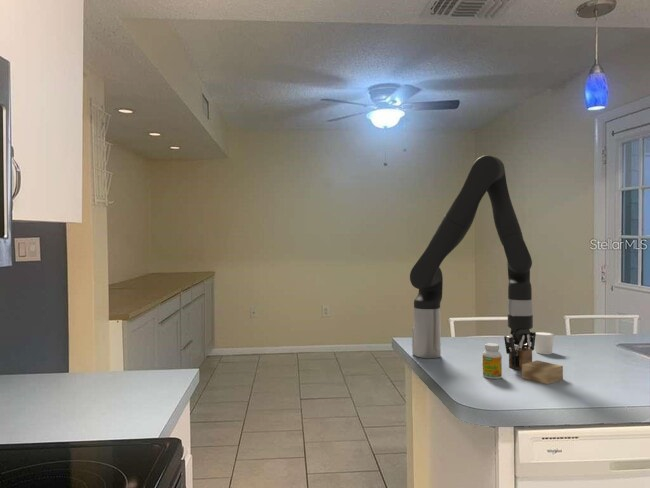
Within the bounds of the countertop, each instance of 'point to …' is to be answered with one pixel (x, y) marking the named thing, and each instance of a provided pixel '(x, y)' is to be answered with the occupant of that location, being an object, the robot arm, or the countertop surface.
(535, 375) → the oak pedestal
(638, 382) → the countertop surface
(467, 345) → the countertop surface
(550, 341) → the white cylinder
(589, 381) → the countertop surface
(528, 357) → the walnut block
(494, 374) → the supplement bottle
